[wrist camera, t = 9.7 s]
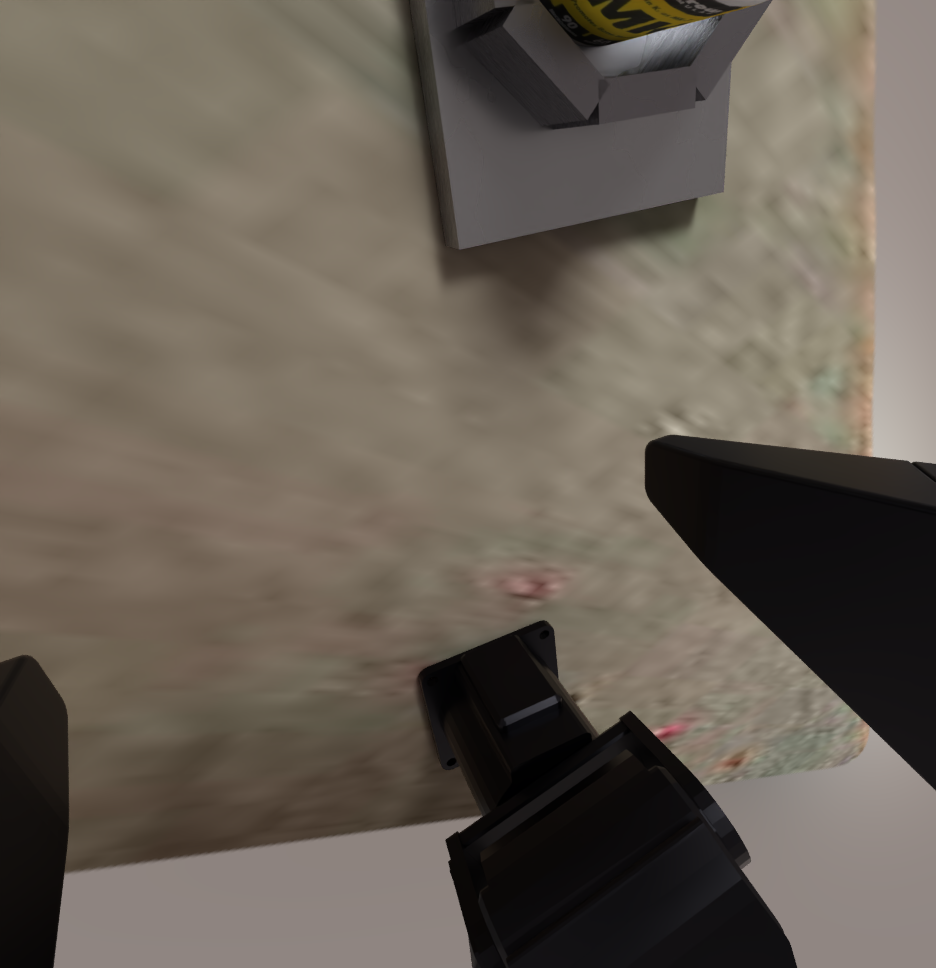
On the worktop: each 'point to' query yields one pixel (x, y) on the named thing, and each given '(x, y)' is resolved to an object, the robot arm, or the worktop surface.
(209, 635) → the worktop surface
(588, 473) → the worktop surface
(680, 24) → the supplement bottle
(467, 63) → the socket plate
